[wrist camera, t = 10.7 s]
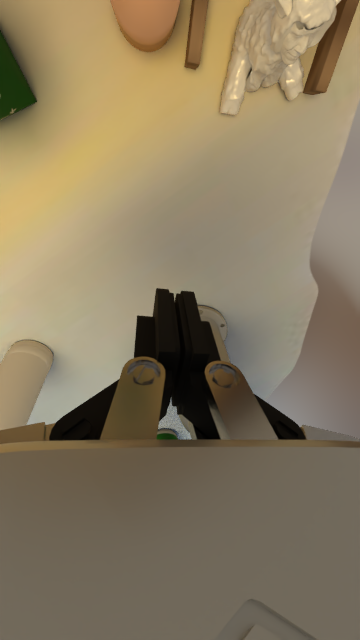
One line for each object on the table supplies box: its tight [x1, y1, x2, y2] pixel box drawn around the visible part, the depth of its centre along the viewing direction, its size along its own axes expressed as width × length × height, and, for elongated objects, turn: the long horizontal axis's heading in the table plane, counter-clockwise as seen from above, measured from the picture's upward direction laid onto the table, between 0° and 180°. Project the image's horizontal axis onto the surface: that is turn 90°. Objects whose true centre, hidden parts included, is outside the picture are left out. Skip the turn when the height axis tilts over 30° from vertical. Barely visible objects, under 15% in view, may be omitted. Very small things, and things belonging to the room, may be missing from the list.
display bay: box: [185, 0, 359, 95], centre depth 25 cm, size 11×15×3 cm
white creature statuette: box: [220, 0, 341, 115], centre depth 23 cm, size 10×9×12 cm
